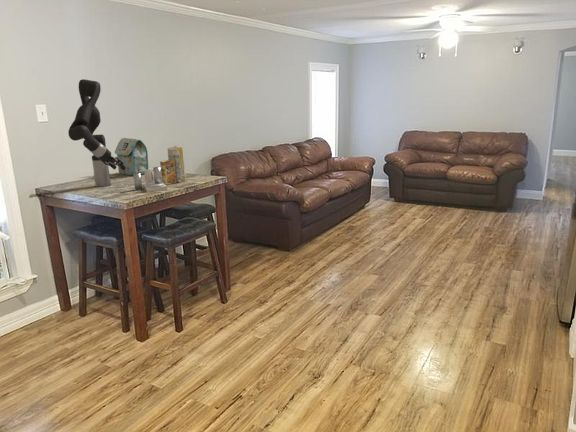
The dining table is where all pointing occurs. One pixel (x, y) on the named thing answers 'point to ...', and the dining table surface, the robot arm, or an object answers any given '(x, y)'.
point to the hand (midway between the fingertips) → (120, 168)
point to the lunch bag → (132, 156)
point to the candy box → (168, 172)
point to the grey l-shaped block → (152, 182)
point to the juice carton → (177, 162)
